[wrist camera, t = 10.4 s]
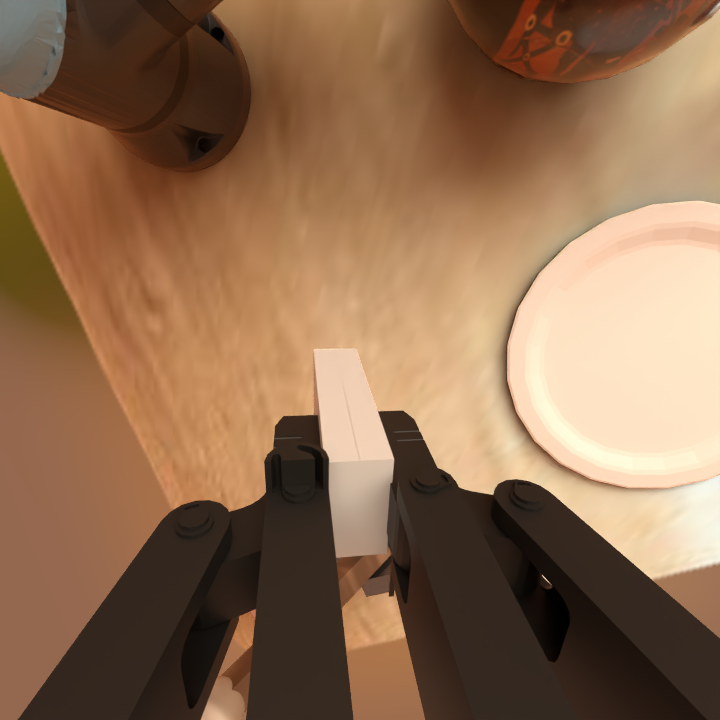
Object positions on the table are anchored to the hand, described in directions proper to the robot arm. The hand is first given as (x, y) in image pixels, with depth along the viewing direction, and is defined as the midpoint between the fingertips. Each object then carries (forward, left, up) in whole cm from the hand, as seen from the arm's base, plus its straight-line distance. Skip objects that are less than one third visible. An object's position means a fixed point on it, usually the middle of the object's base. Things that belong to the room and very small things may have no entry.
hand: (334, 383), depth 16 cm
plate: (+27, 0, -32) cm, 42 cm away
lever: (+5, -27, -26) cm, 37 cm away
